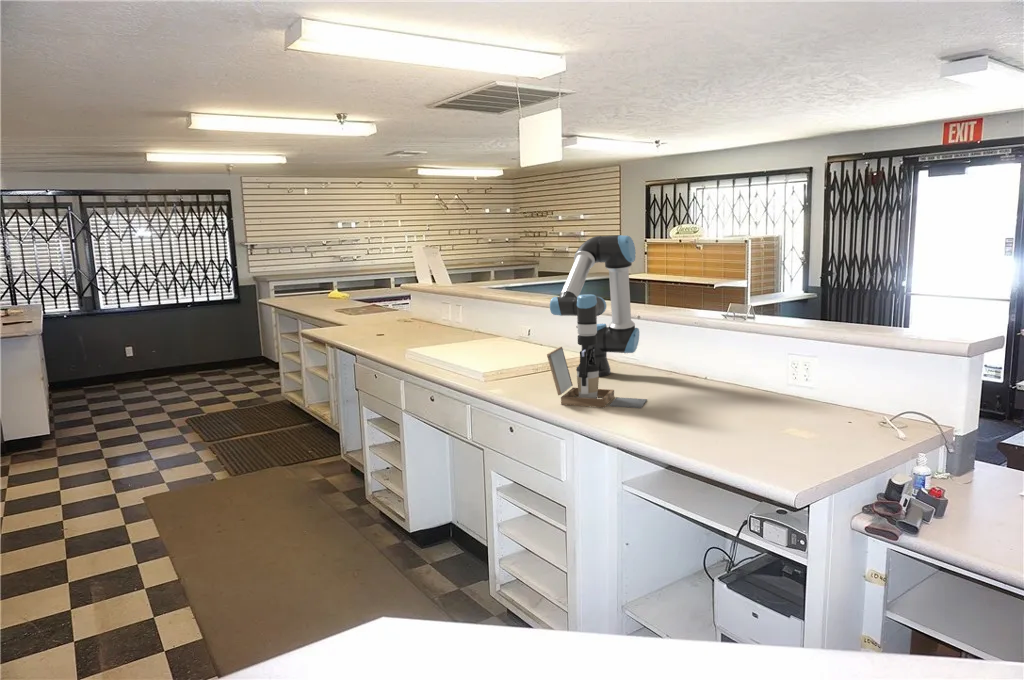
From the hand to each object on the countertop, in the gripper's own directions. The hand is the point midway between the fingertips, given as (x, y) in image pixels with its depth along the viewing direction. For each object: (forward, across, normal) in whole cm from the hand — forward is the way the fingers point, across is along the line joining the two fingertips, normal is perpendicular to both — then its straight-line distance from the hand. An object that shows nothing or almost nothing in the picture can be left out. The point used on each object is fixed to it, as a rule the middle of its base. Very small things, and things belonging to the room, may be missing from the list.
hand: (588, 390), depth 260 cm
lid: (-8, 0, -11) cm, 13 cm away
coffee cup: (+4, 0, 0) cm, 4 cm away
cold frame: (+4, 0, 0) cm, 4 cm away
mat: (+4, 0, +16) cm, 16 cm away
